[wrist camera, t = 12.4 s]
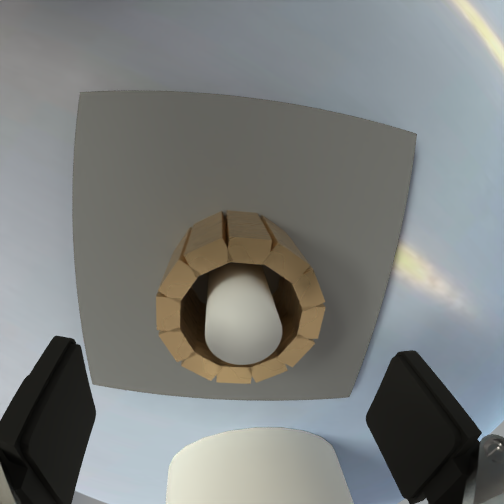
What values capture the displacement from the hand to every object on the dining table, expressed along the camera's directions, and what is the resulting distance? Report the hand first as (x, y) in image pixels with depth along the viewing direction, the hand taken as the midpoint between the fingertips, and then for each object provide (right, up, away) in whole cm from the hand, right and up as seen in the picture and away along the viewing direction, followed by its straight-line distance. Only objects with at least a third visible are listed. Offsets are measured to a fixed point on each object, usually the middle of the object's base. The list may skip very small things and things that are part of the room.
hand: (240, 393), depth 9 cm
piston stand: (-1, +3, +11) cm, 11 cm away
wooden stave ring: (-1, +3, +9) cm, 10 cm away
